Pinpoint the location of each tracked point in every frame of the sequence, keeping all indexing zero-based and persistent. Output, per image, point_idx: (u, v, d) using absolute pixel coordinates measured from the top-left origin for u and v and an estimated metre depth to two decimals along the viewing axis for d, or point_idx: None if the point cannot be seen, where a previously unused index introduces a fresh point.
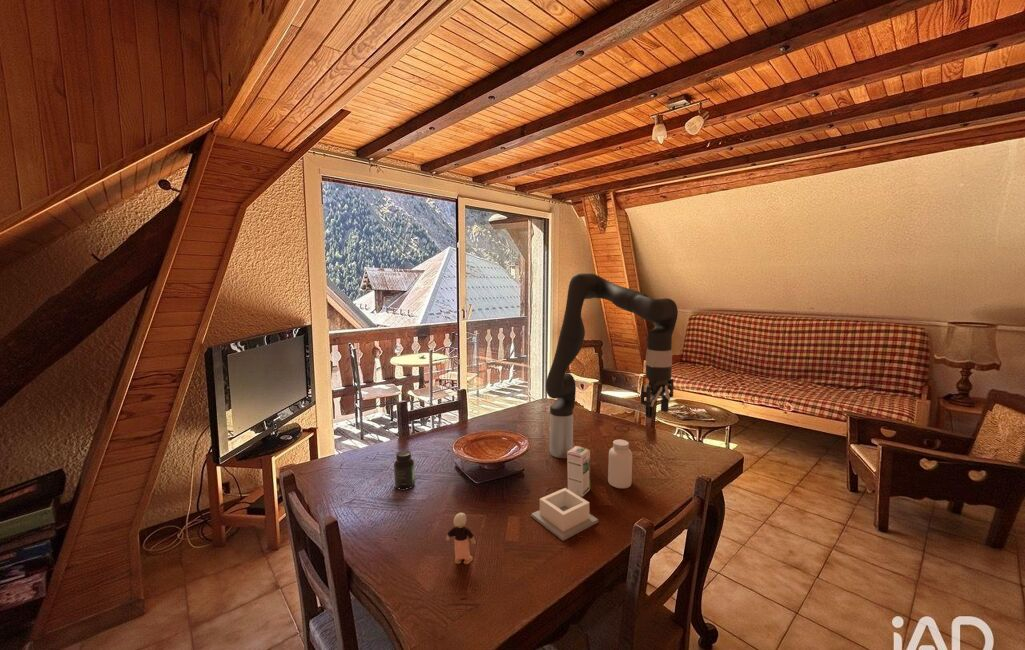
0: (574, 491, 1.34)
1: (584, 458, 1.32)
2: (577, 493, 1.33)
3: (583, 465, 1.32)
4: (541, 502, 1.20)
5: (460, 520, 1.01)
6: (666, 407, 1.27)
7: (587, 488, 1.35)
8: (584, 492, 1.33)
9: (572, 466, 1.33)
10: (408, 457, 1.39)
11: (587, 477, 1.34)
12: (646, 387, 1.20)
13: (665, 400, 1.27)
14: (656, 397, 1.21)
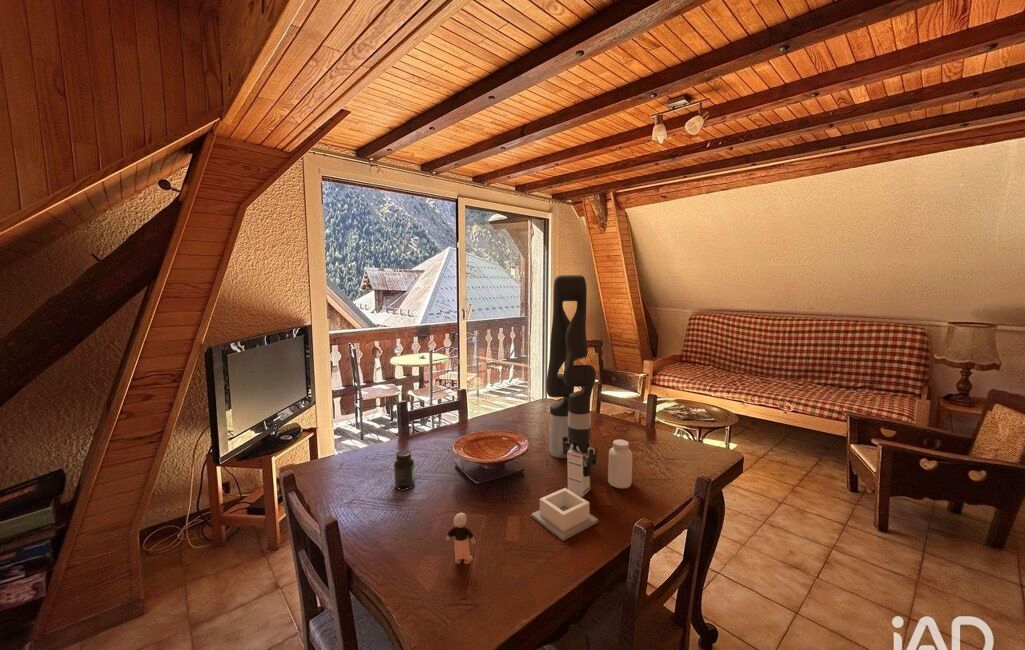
0: (574, 491, 1.34)
1: None
2: (577, 493, 1.33)
3: (583, 465, 1.31)
4: (541, 502, 1.20)
5: (460, 520, 1.01)
6: None
7: (587, 488, 1.35)
8: (584, 492, 1.33)
9: (572, 466, 1.33)
10: (408, 457, 1.39)
11: (587, 477, 1.34)
12: (595, 450, 1.29)
13: None
14: None
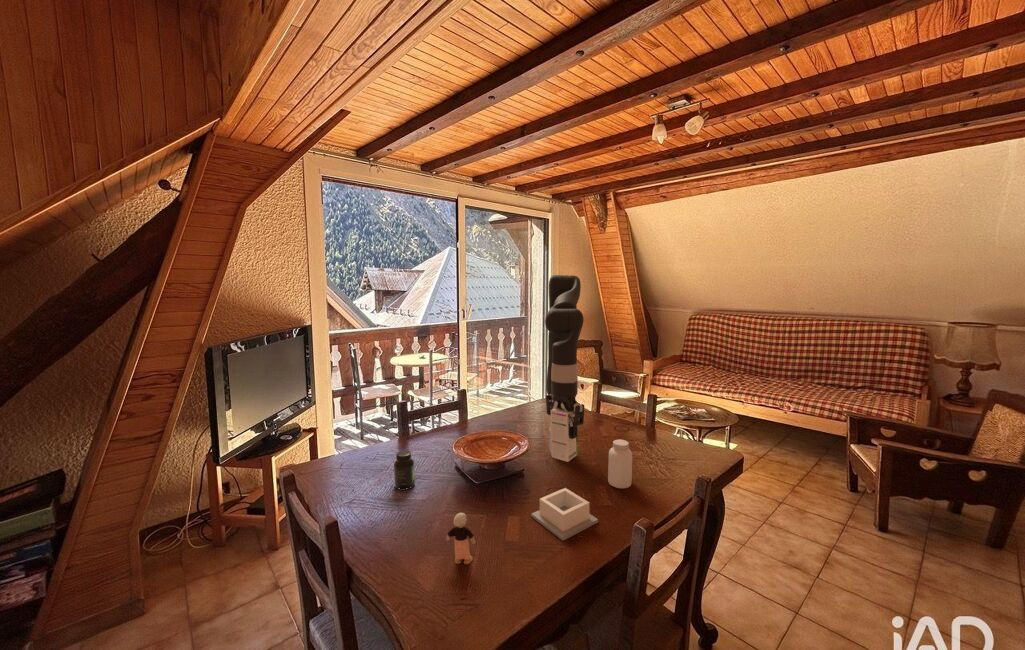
0: (558, 456, 1.16)
1: None
2: (562, 458, 1.15)
3: (569, 425, 1.13)
4: (541, 502, 1.20)
5: (460, 520, 1.01)
6: None
7: (574, 452, 1.17)
8: (570, 457, 1.15)
9: (557, 426, 1.15)
10: (408, 457, 1.39)
11: (573, 440, 1.16)
12: (582, 406, 1.11)
13: None
14: None
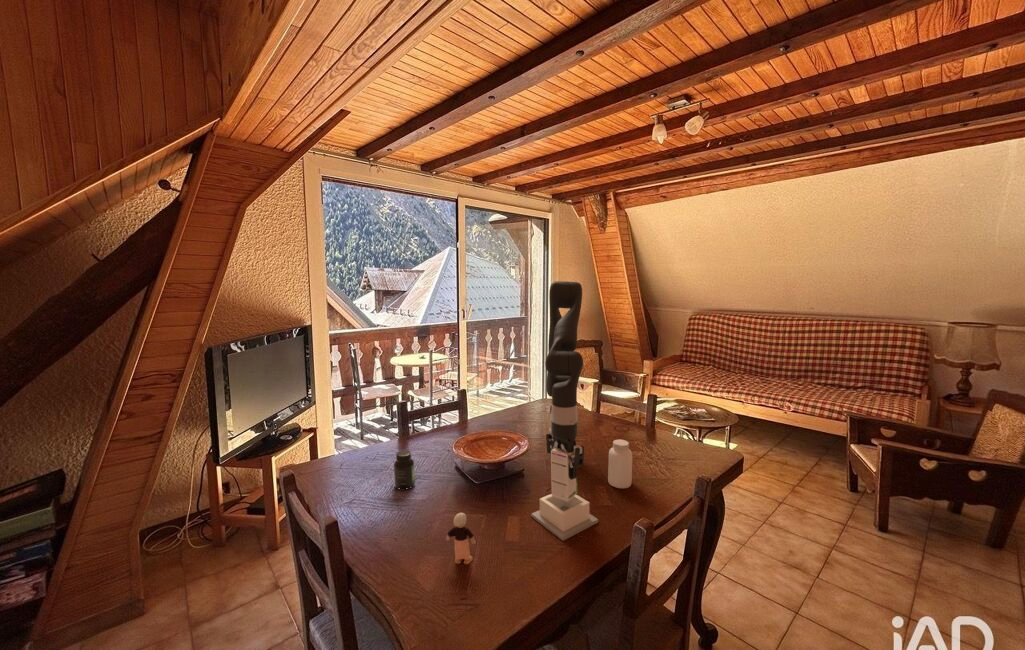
0: (559, 495, 1.17)
1: None
2: (562, 498, 1.16)
3: (569, 466, 1.15)
4: (541, 502, 1.20)
5: (460, 520, 1.01)
6: None
7: (574, 492, 1.18)
8: (570, 497, 1.16)
9: (557, 467, 1.16)
10: (408, 457, 1.39)
11: (573, 479, 1.17)
12: (582, 448, 1.12)
13: None
14: None
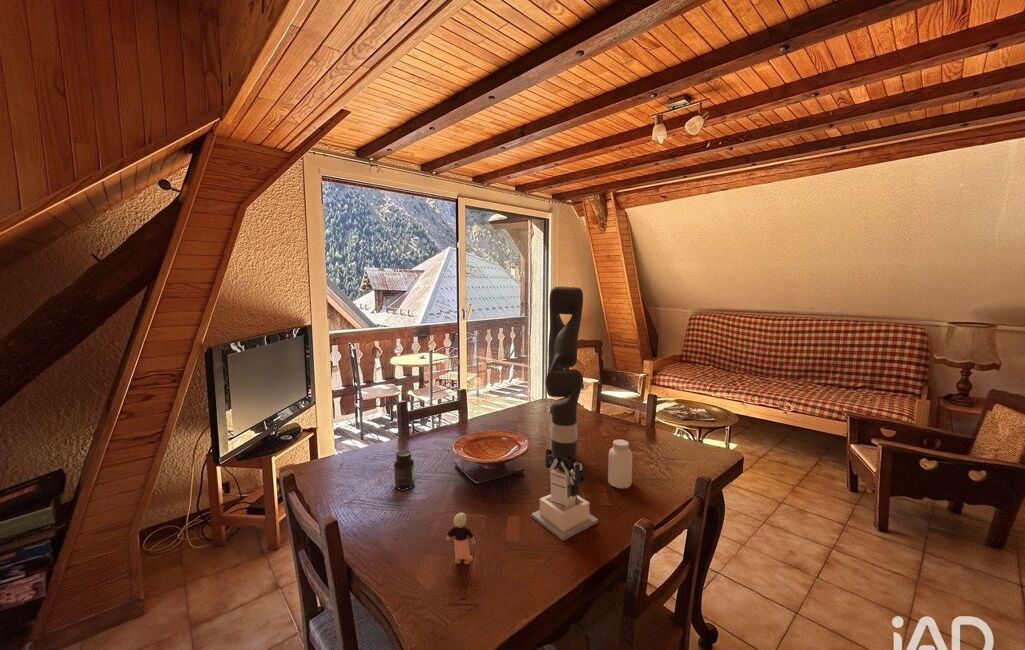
0: None
1: None
2: None
3: (568, 487, 1.16)
4: (541, 502, 1.20)
5: (460, 520, 1.01)
6: None
7: None
8: None
9: (556, 488, 1.17)
10: (408, 457, 1.39)
11: (573, 500, 1.18)
12: (581, 465, 1.12)
13: None
14: None
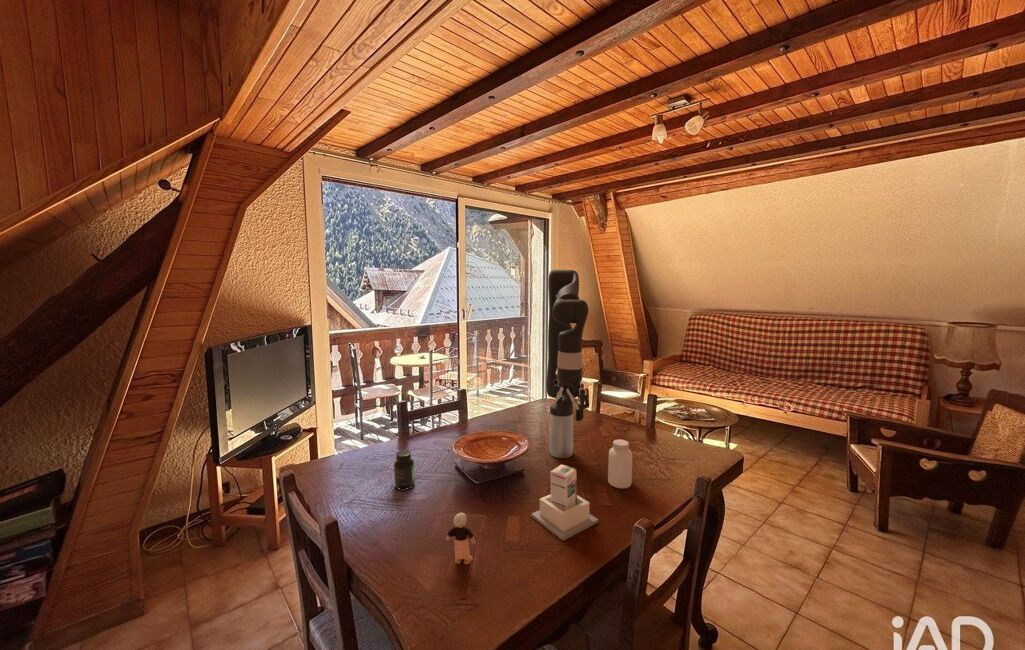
0: None
1: (569, 479, 1.16)
2: None
3: (568, 487, 1.16)
4: (541, 502, 1.20)
5: (460, 520, 1.01)
6: (562, 407, 1.28)
7: None
8: None
9: (556, 488, 1.17)
10: (408, 457, 1.39)
11: (573, 501, 1.18)
12: (586, 390, 1.18)
13: (561, 400, 1.27)
14: None
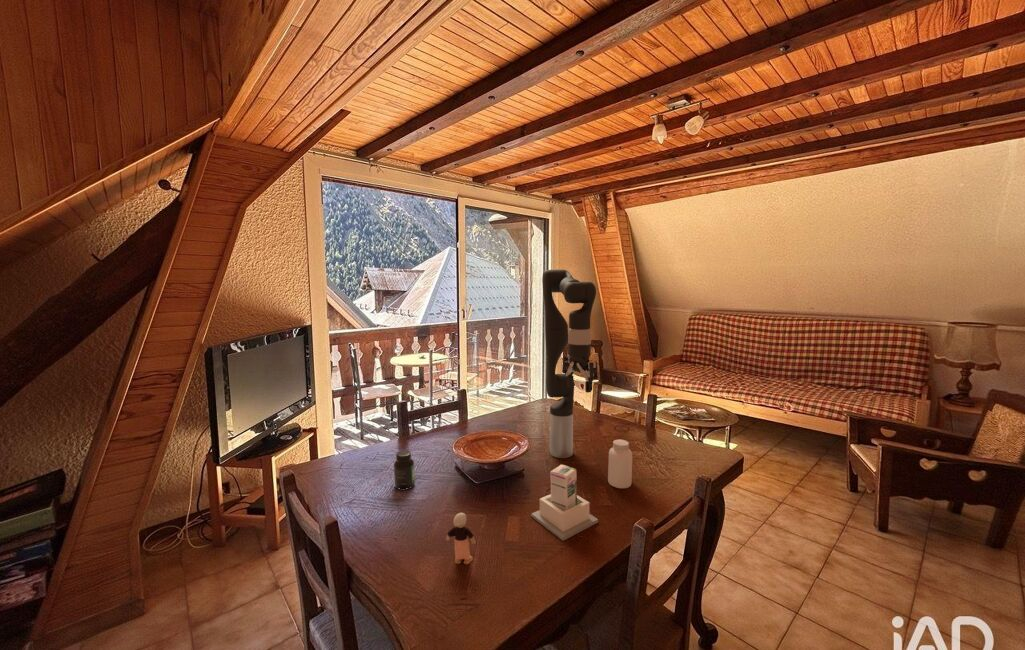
0: None
1: (569, 479, 1.16)
2: None
3: (568, 487, 1.16)
4: (541, 502, 1.20)
5: (460, 520, 1.01)
6: (572, 381, 1.40)
7: None
8: None
9: (556, 488, 1.17)
10: (408, 457, 1.39)
11: (573, 501, 1.18)
12: (595, 363, 1.30)
13: (571, 376, 1.39)
14: None
